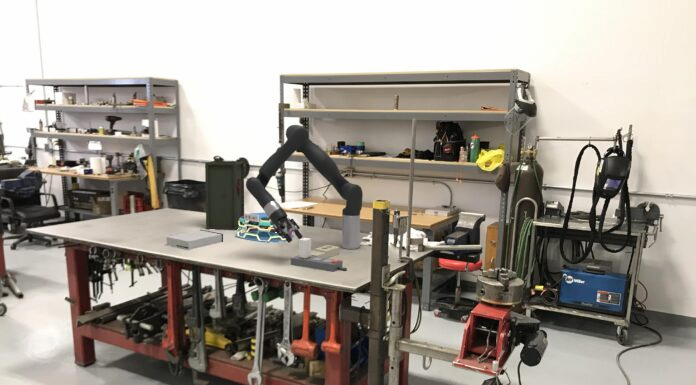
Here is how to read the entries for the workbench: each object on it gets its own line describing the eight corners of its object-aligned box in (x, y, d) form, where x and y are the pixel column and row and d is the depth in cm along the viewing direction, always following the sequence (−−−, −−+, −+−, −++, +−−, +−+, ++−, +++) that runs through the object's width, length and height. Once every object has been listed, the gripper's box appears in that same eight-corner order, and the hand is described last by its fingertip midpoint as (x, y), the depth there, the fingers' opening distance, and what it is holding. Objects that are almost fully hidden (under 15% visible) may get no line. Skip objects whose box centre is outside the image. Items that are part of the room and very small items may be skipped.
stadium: (301, 237, 280) (302, 212, 279) (273, 245, 260) (273, 218, 259) (256, 229, 299) (255, 206, 297) (226, 236, 279) (226, 211, 277)
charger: (304, 262, 227) (304, 237, 225) (311, 263, 225) (311, 238, 223) (298, 264, 222) (299, 239, 221) (305, 265, 221) (305, 240, 219)
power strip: (300, 260, 229) (300, 252, 229) (350, 268, 218) (350, 260, 217) (290, 264, 222) (290, 256, 222) (342, 272, 211) (342, 264, 210)
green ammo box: (215, 223, 315) (214, 160, 310) (244, 224, 314) (243, 161, 309) (206, 229, 296) (205, 162, 291) (236, 230, 296) (236, 163, 291)
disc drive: (223, 242, 264) (223, 233, 264) (189, 250, 246) (188, 240, 245) (201, 238, 274) (200, 229, 273) (166, 245, 255) (166, 236, 255)
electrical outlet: (304, 251, 232) (327, 244, 247) (304, 259, 233) (327, 252, 247) (316, 253, 228) (339, 246, 243) (316, 262, 229) (339, 254, 243)
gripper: (270, 209, 221) (292, 237, 217) (288, 205, 233) (309, 232, 229) (261, 219, 224) (282, 247, 220) (279, 215, 236) (299, 241, 232)
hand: (296, 239), depth 225 cm, fingers open, 8 cm apart
